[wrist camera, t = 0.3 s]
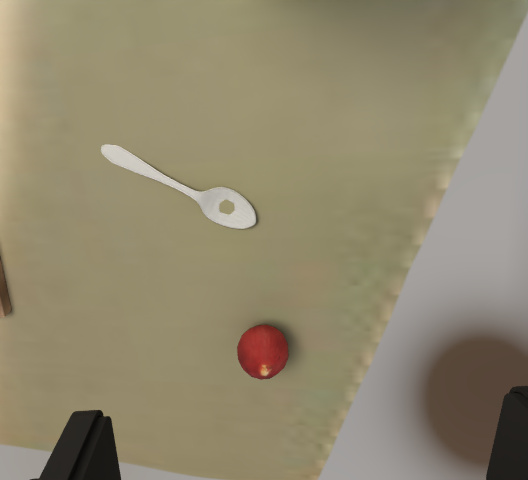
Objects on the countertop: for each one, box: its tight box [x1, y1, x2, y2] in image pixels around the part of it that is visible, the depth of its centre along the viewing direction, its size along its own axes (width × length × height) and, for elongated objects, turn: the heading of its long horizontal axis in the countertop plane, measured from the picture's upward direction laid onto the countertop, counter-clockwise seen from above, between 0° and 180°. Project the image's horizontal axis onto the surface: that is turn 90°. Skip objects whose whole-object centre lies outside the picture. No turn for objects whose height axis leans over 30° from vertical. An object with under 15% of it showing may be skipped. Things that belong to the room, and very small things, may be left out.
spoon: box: [101, 144, 256, 229], centre depth 43 cm, size 4×21×2 cm, turn 63°
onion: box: [237, 325, 288, 379], centre depth 46 cm, size 6×6×8 cm
